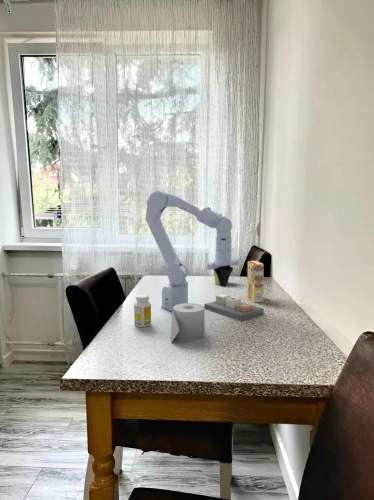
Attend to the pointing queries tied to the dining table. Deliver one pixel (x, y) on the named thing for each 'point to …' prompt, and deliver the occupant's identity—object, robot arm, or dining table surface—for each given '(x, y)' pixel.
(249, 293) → the candy box
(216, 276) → the plant pot
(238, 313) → the keypad
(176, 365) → the dining table surface
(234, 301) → the key ivory
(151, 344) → the dining table surface
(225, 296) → the key sage
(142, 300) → the supplement bottle
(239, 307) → the key peach
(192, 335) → the toilet tissue
